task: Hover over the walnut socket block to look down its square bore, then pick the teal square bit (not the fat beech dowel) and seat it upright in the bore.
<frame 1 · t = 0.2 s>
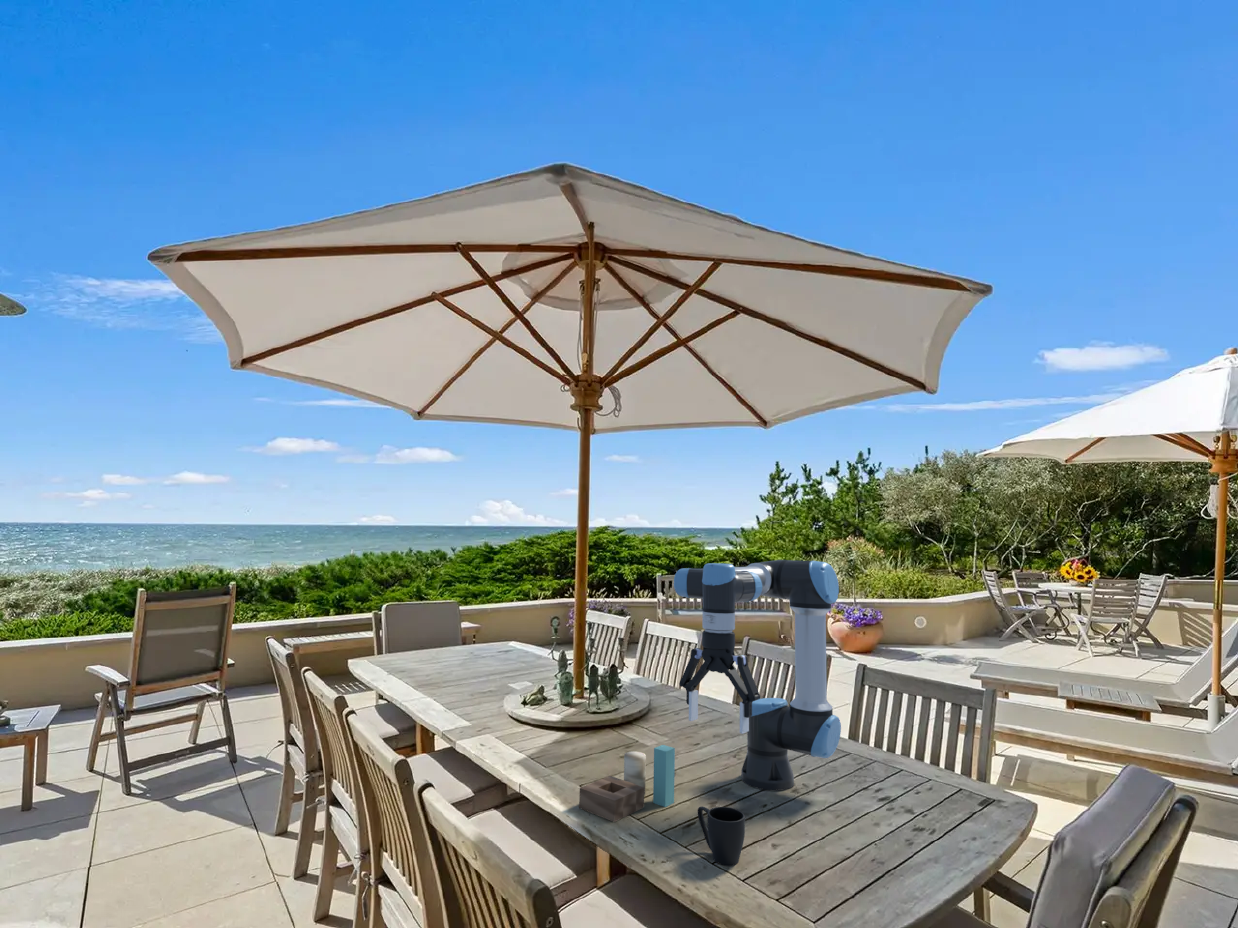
hand: (718, 725, 146), 28 cm above the table, fingers open, 13 cm apart
round dowel: (634, 792, 177), on the table
mug: (719, 857, 142), on the table
square bit: (663, 802, 170), on the table
socket block: (611, 807, 166), on the table
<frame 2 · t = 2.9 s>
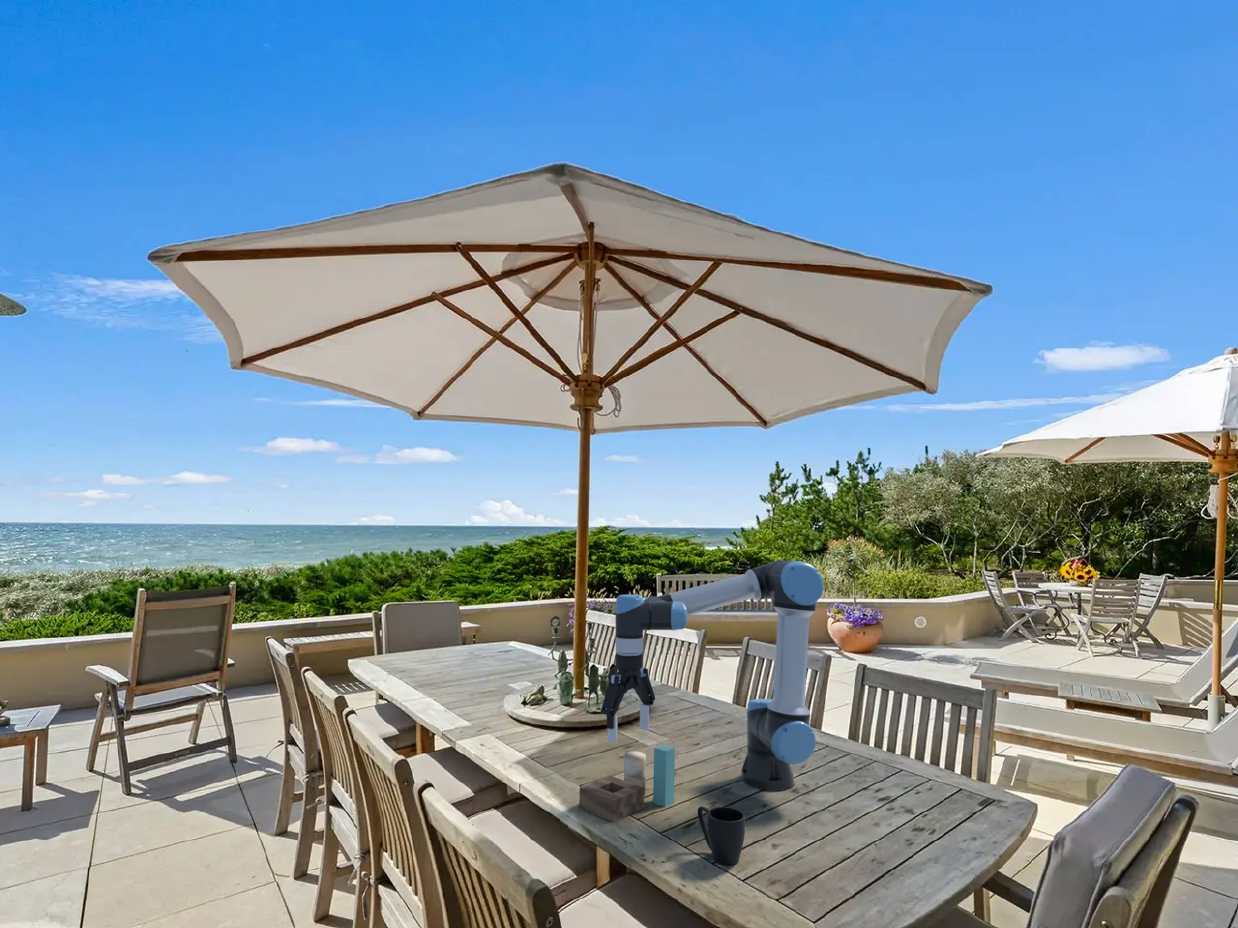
hand: (628, 735, 170), 18 cm above the table, fingers open, 13 cm apart
nothing on the table moved.
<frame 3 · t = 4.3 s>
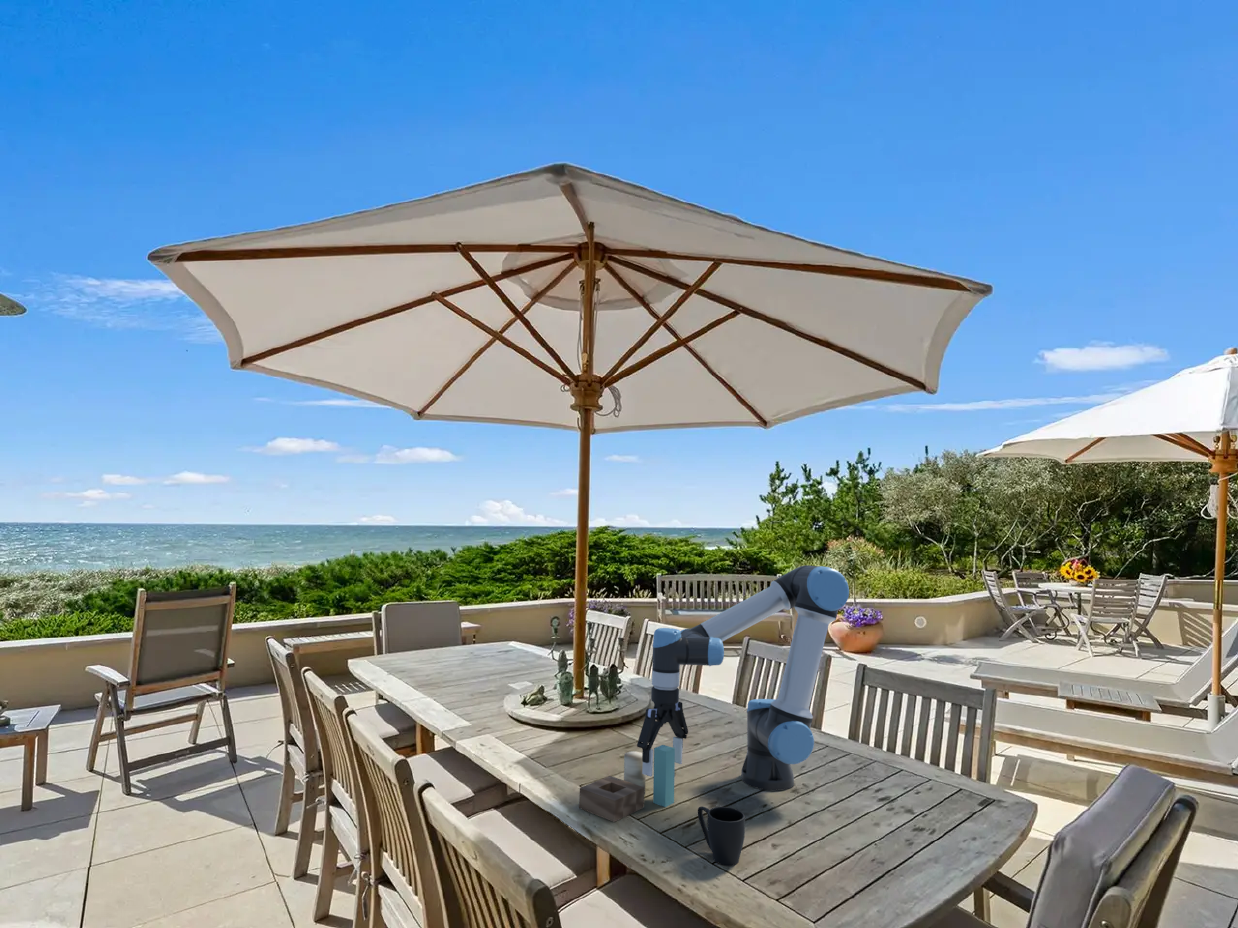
hand: (662, 768, 171), 9 cm above the table, fingers open, 13 cm apart
nothing on the table moved.
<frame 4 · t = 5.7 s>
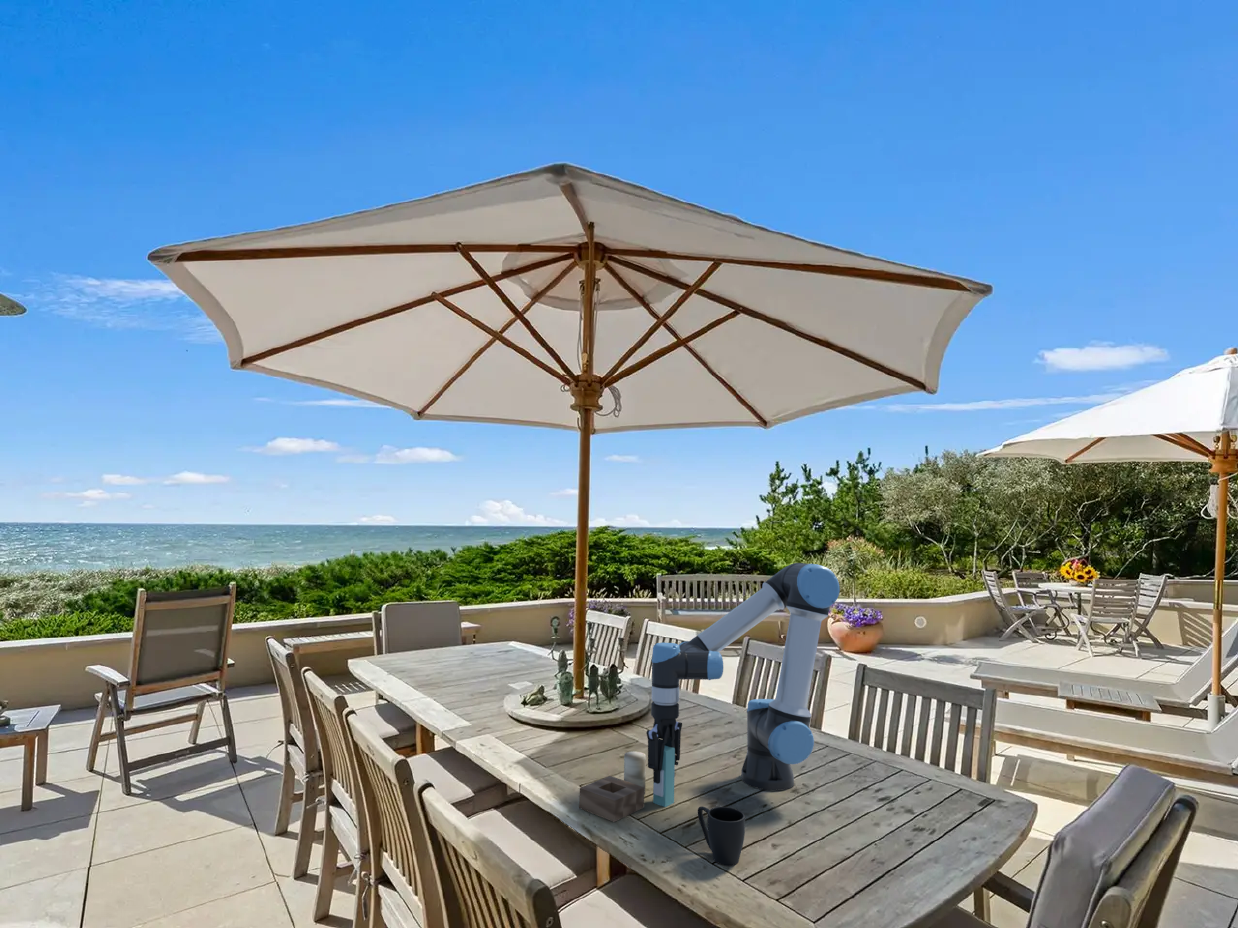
hand: (663, 792, 171), 3 cm above the table, fingers closed on square bit, 4 cm apart
square bit: (663, 802, 170), on the table, touching gripper
everything else where it was.
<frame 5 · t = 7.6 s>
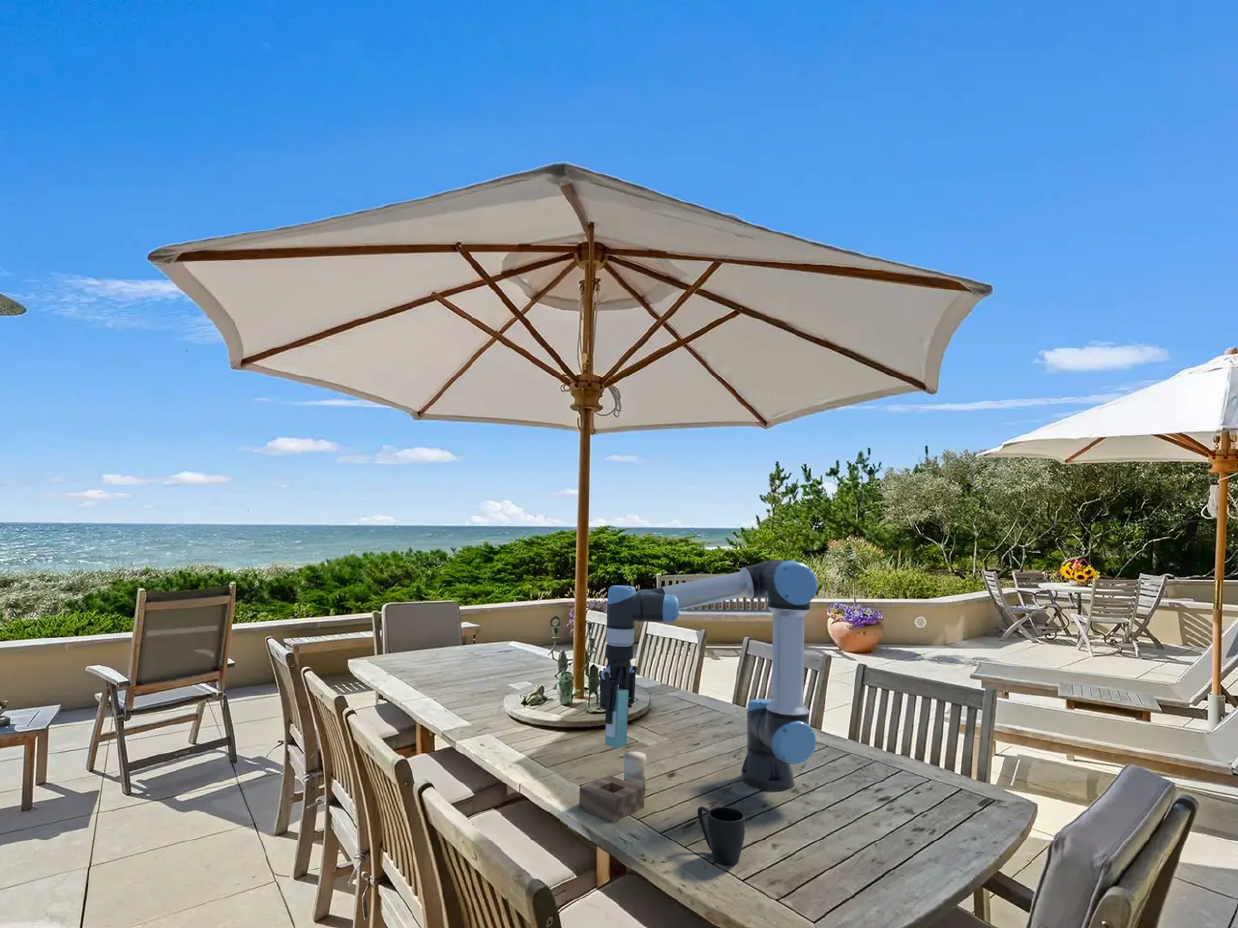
hand: (616, 734, 169), 18 cm above the table, fingers closed on square bit, 4 cm apart
square bit: (615, 744, 168), point 16 cm above the table, touching gripper
everything else where it was.
when the fingers open (7 cm above the table, at t = 9.6 s): square bit drops 4 cm, resting in socket block.
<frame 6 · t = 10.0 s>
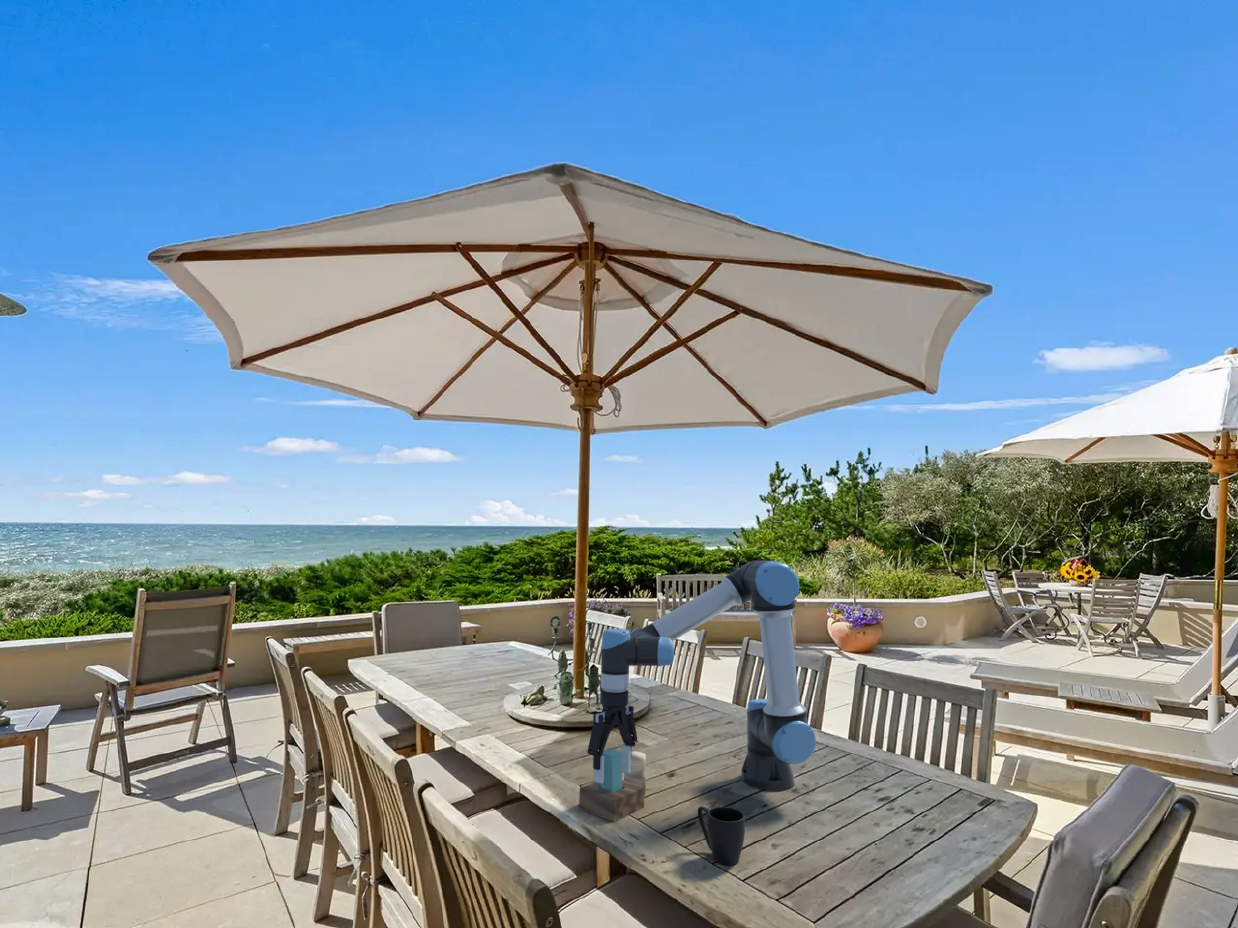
hand: (612, 776, 167), 8 cm above the table, fingers open, 10 cm apart
square bit: (611, 807, 166), resting in socket block
everything else where it was.
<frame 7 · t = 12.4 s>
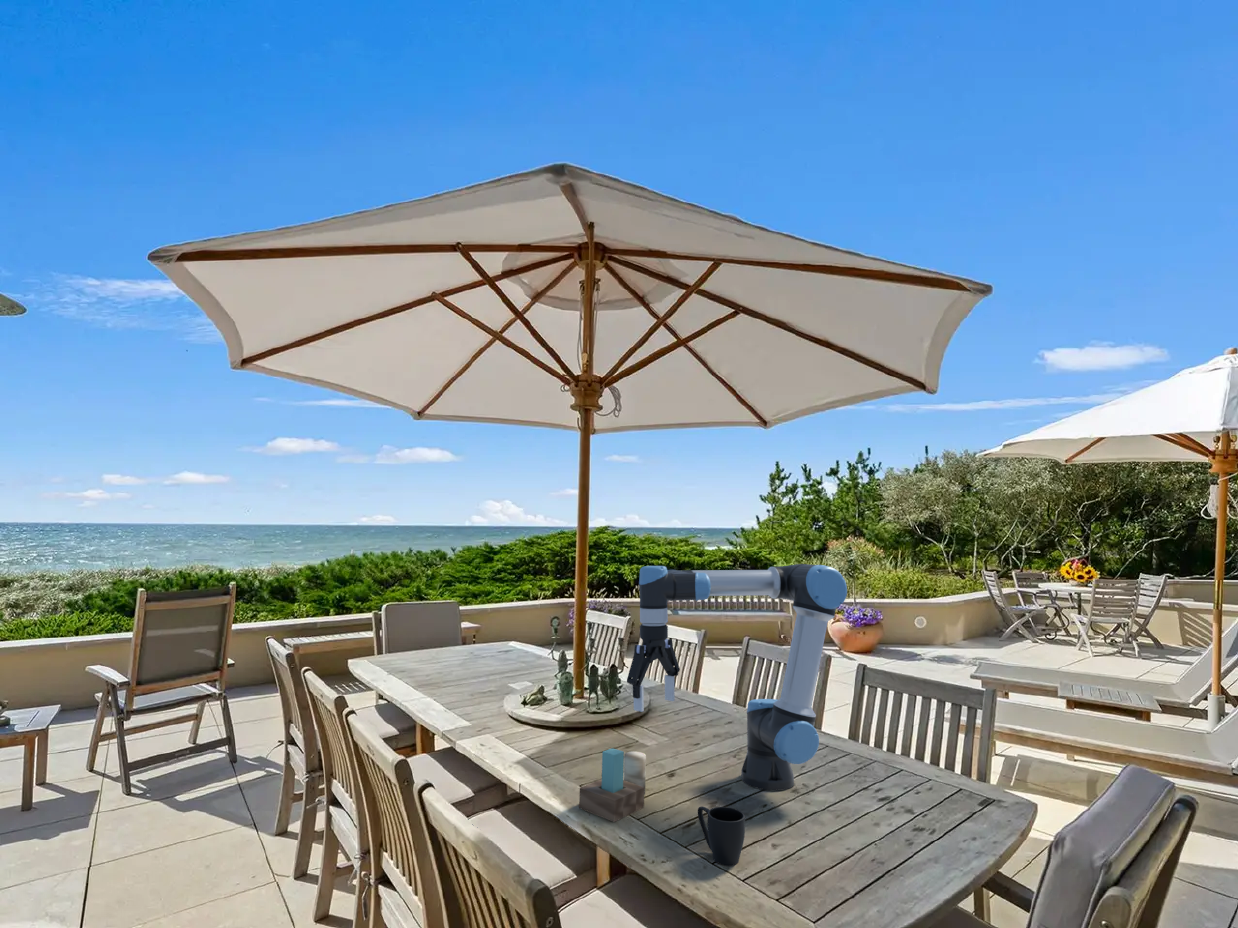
hand: (654, 705, 170), 26 cm above the table, fingers open, 13 cm apart
nothing on the table moved.
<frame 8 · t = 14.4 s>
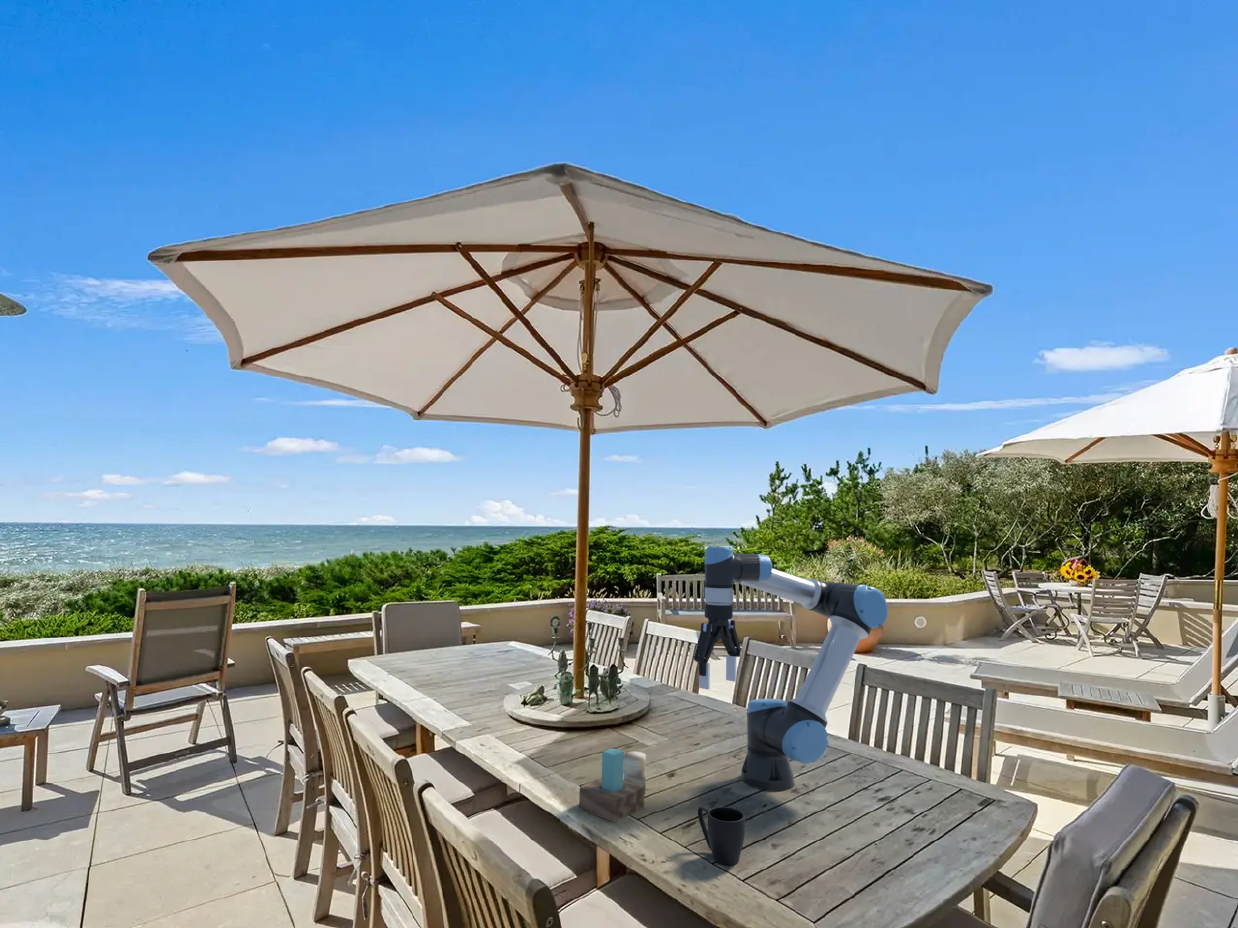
hand: (718, 684, 170), 32 cm above the table, fingers open, 13 cm apart
nothing on the table moved.
at the end: square bit 0.1 cm off-centre on the socket block, point 0.0 cm above the socket block's base; square bit tilted 0°; the gripper is holding nothing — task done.
